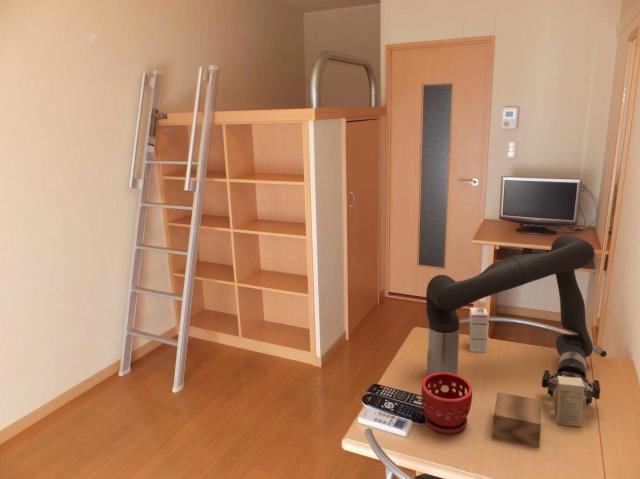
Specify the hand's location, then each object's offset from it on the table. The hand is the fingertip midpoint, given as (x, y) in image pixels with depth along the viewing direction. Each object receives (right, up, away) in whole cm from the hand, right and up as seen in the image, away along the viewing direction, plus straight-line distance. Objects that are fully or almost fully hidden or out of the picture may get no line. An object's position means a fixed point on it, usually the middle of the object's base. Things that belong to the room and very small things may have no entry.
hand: (569, 397), depth 129 cm
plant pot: (-32, -8, +2) cm, 34 cm away
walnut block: (-15, -8, -1) cm, 17 cm away
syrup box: (-11, +3, +42) cm, 44 cm away
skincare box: (0, -7, +2) cm, 7 cm away
